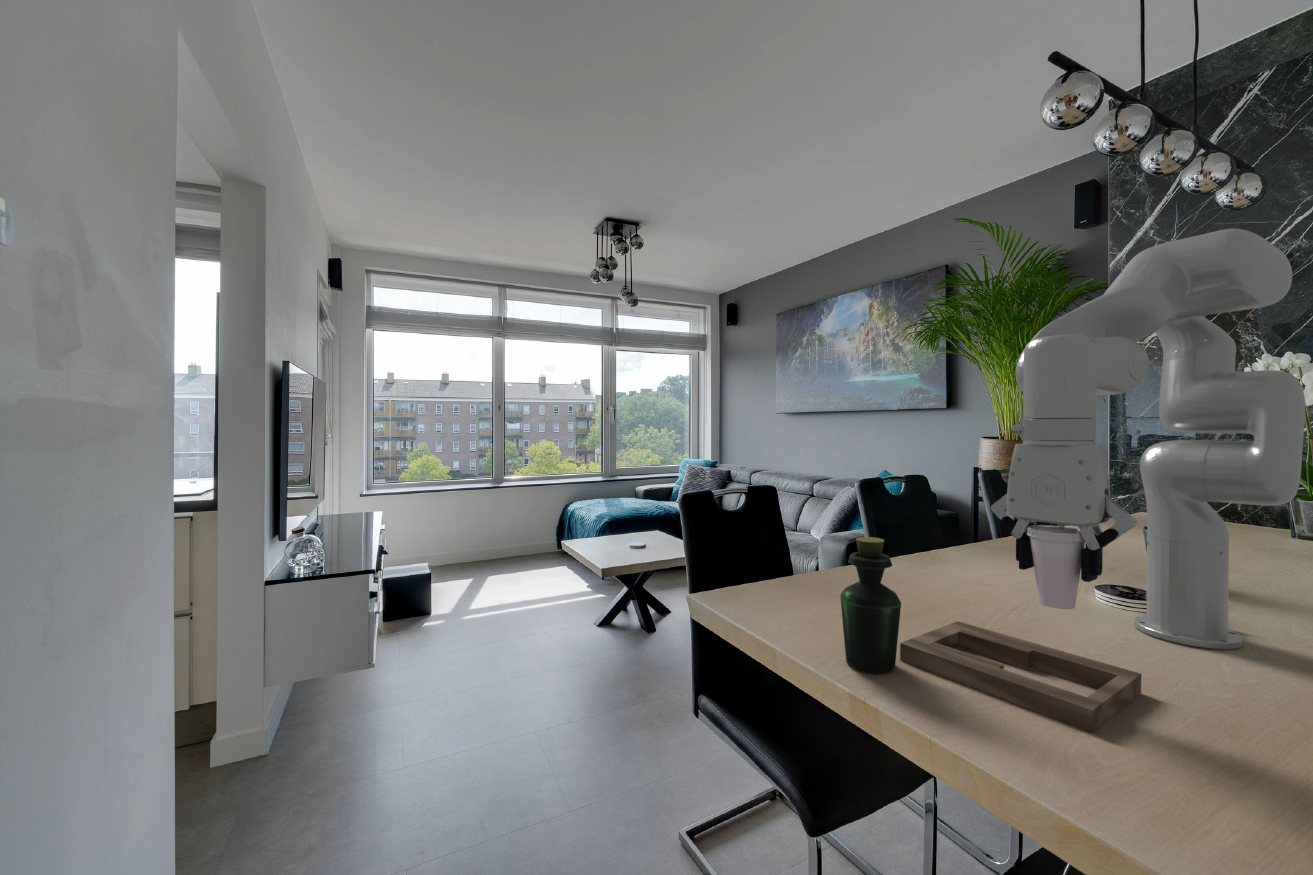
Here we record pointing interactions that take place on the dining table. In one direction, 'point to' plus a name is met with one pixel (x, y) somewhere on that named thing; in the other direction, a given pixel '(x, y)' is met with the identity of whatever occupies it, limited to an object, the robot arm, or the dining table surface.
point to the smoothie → (1056, 563)
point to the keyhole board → (990, 677)
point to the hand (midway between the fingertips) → (1057, 572)
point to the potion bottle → (870, 611)
